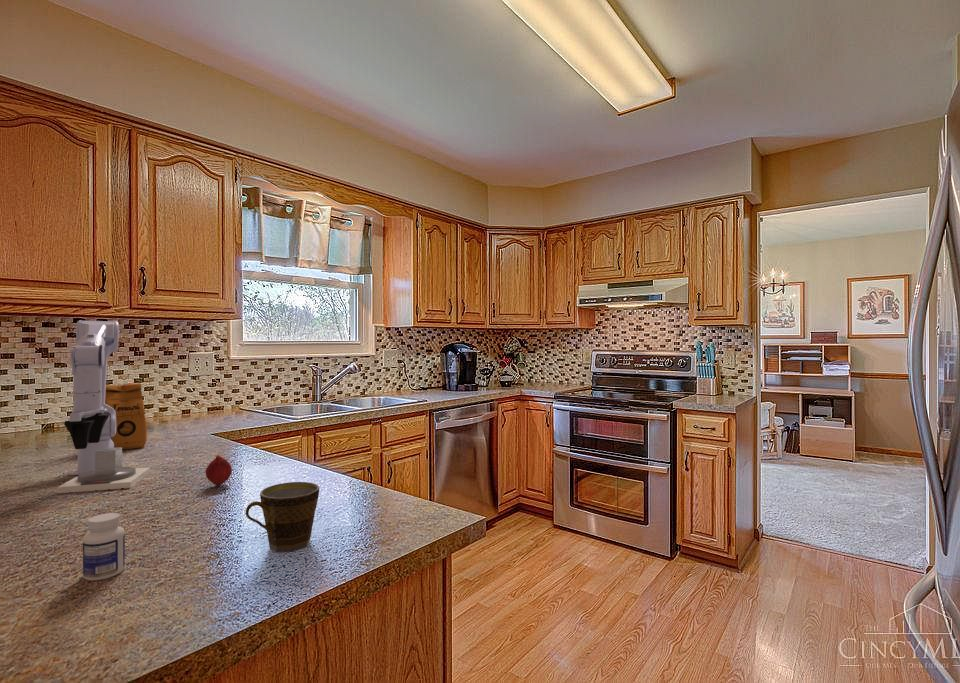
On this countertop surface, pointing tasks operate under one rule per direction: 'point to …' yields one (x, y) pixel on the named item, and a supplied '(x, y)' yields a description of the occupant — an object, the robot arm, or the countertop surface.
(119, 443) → the coffee package
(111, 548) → the pill bottle
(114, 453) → the block
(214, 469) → the onion
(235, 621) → the countertop surface
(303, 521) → the ceramic cup
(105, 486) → the kitchen scale
